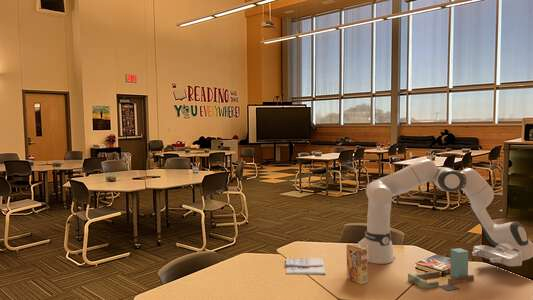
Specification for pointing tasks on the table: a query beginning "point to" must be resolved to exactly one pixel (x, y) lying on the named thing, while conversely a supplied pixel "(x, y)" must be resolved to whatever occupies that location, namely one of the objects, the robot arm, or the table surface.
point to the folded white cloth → (296, 263)
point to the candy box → (357, 263)
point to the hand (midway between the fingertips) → (482, 257)
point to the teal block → (459, 262)
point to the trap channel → (424, 284)
